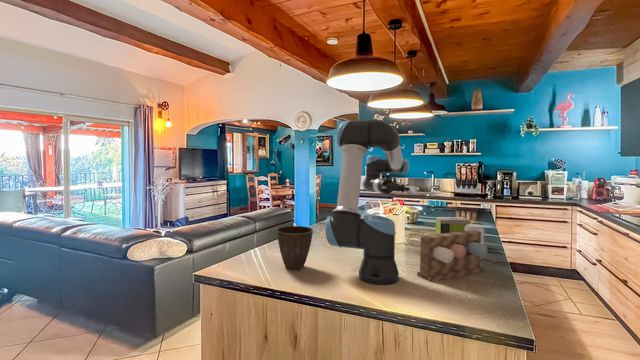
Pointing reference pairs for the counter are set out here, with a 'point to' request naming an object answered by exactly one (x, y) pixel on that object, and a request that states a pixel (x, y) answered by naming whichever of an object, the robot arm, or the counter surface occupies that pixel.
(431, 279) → the brown wooden rectangular frame
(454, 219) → the tea box
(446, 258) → the ivory button
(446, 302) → the counter surface
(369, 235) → the robot arm
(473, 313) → the counter surface
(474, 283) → the counter surface
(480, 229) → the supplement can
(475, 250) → the slate button
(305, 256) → the plant pot
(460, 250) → the terracotta long rounded piece
